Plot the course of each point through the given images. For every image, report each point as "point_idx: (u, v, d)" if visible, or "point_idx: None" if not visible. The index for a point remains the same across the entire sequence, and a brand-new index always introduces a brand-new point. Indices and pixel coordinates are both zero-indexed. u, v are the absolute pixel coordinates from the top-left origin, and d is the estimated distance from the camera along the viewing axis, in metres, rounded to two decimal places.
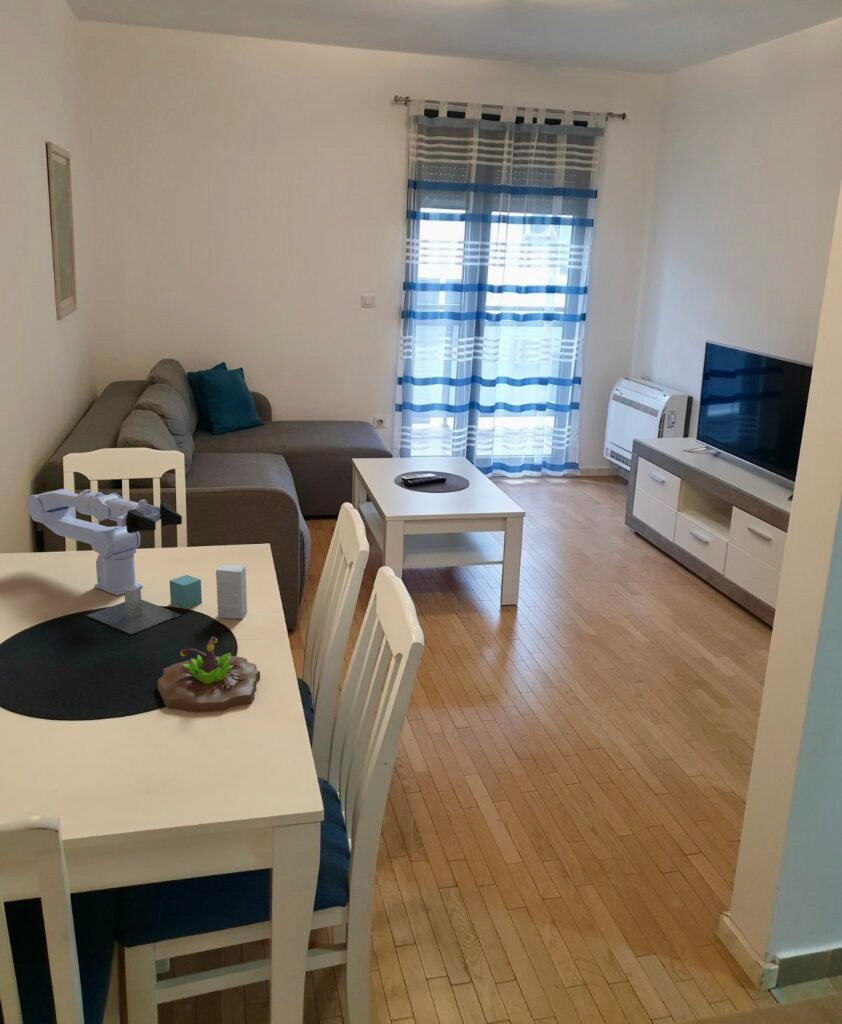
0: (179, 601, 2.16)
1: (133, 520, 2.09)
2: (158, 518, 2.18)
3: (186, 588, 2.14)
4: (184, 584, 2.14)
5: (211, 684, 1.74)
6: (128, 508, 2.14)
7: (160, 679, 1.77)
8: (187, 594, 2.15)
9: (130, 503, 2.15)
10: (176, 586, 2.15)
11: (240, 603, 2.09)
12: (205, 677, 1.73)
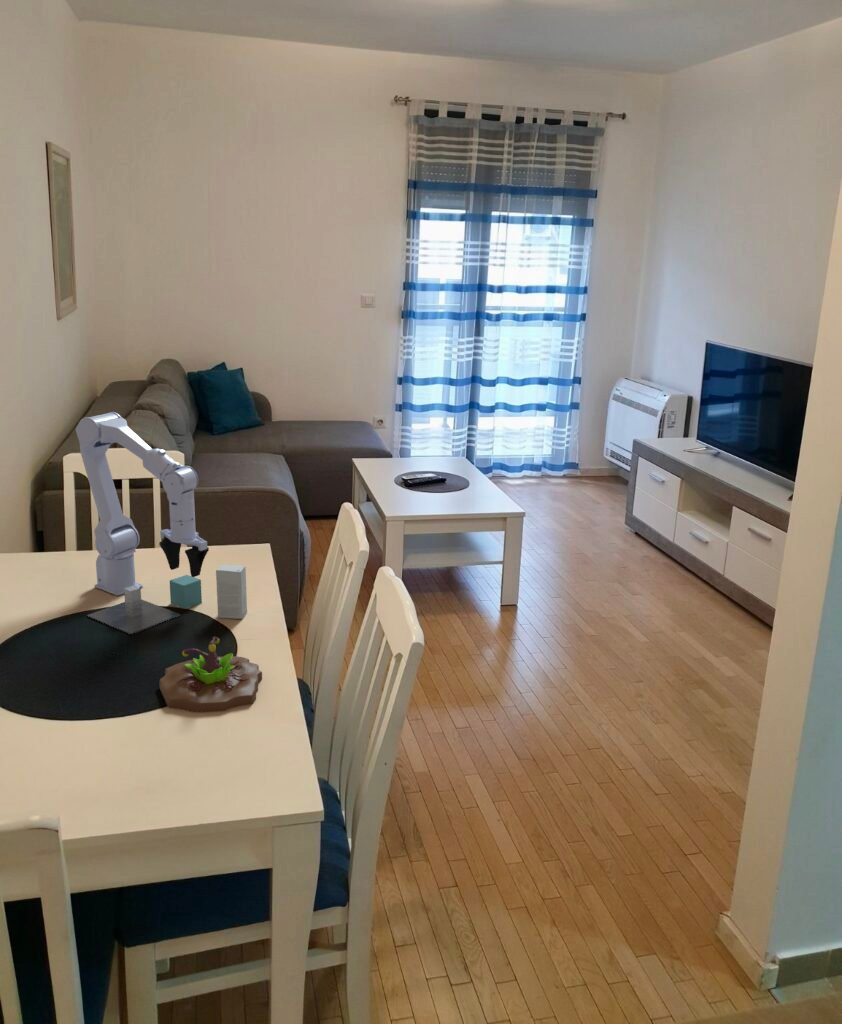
0: (179, 601, 2.16)
1: None
2: None
3: (186, 588, 2.14)
4: (184, 584, 2.14)
5: (213, 684, 1.74)
6: None
7: (162, 679, 1.77)
8: (187, 594, 2.15)
9: None
10: (176, 586, 2.15)
11: (240, 603, 2.09)
12: (207, 677, 1.73)
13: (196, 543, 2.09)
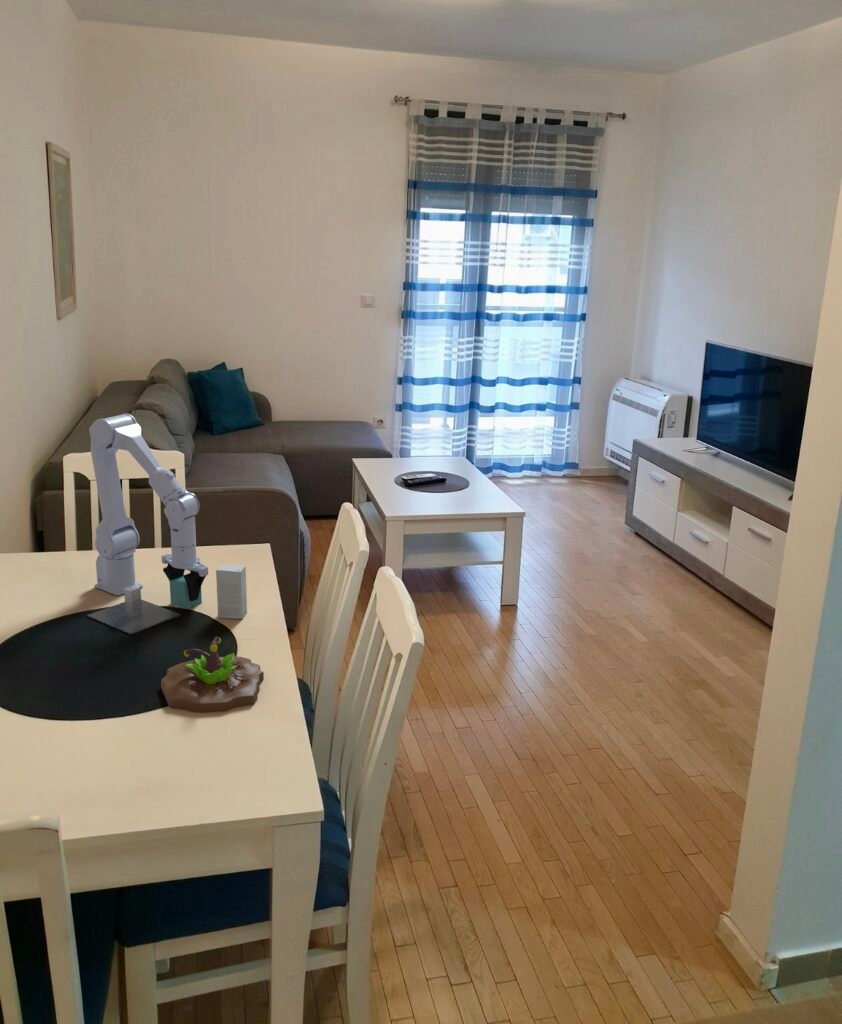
0: (179, 601, 2.16)
1: None
2: None
3: (186, 588, 2.14)
4: (184, 584, 2.14)
5: (214, 684, 1.74)
6: None
7: (164, 679, 1.77)
8: (187, 594, 2.15)
9: None
10: (176, 586, 2.15)
11: (240, 603, 2.09)
12: (208, 677, 1.73)
13: (197, 569, 2.11)
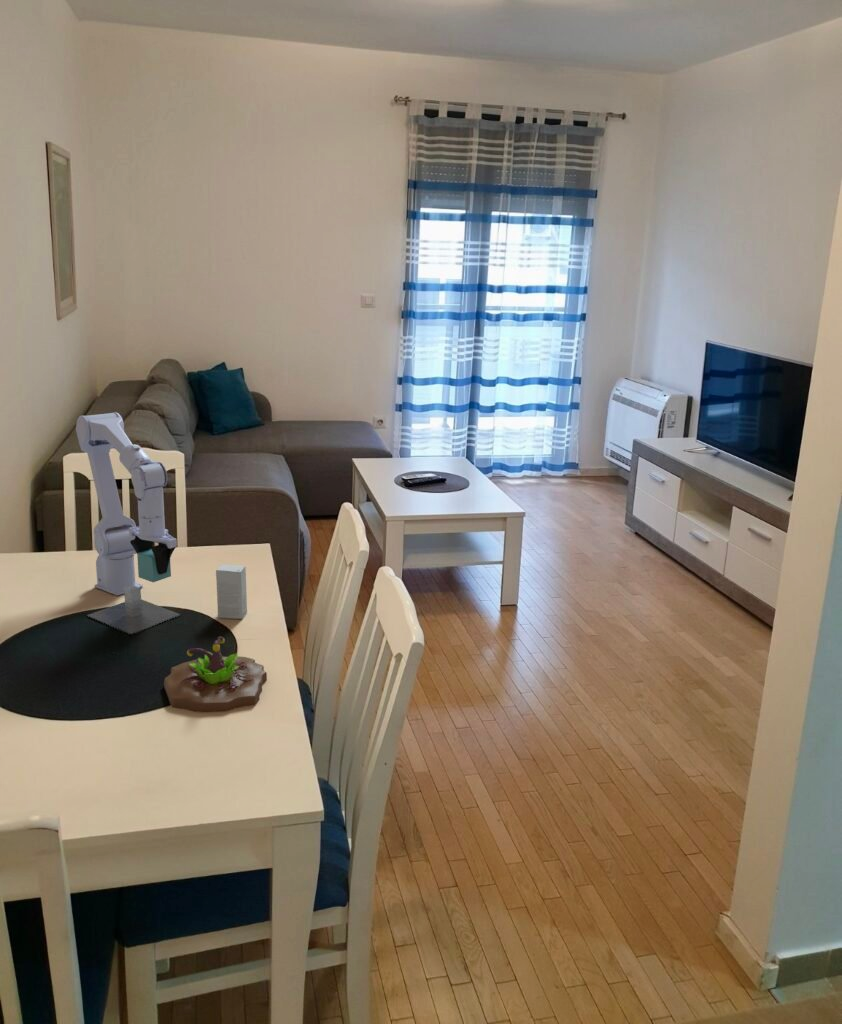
0: (147, 575, 2.08)
1: None
2: None
3: (154, 561, 2.07)
4: (152, 556, 2.07)
5: (216, 684, 1.74)
6: (164, 523, 2.08)
7: (167, 678, 1.77)
8: (155, 567, 2.07)
9: None
10: (144, 559, 2.08)
11: (240, 603, 2.09)
12: (210, 677, 1.74)
13: (165, 540, 2.04)
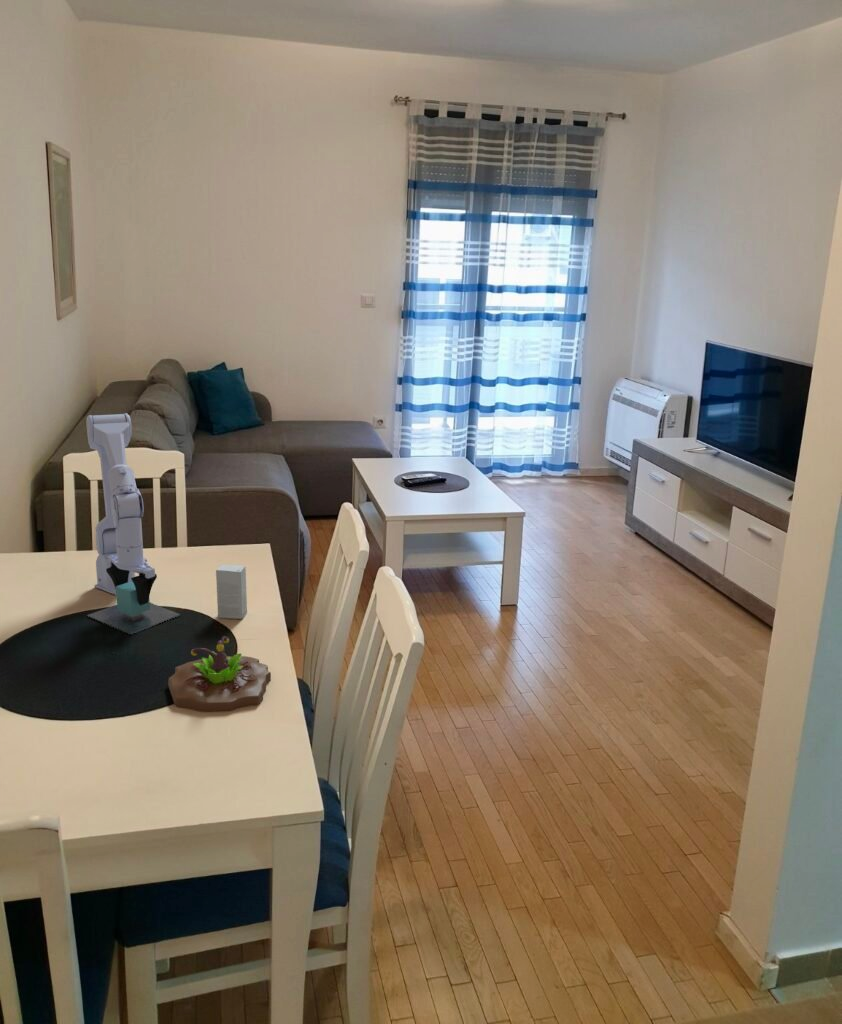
0: (125, 608, 2.07)
1: None
2: None
3: (132, 594, 2.05)
4: (130, 590, 2.05)
5: (220, 684, 1.74)
6: (142, 552, 2.06)
7: (171, 677, 1.77)
8: (134, 601, 2.06)
9: None
10: (122, 592, 2.06)
11: (240, 603, 2.09)
12: (214, 677, 1.74)
13: (143, 570, 2.02)
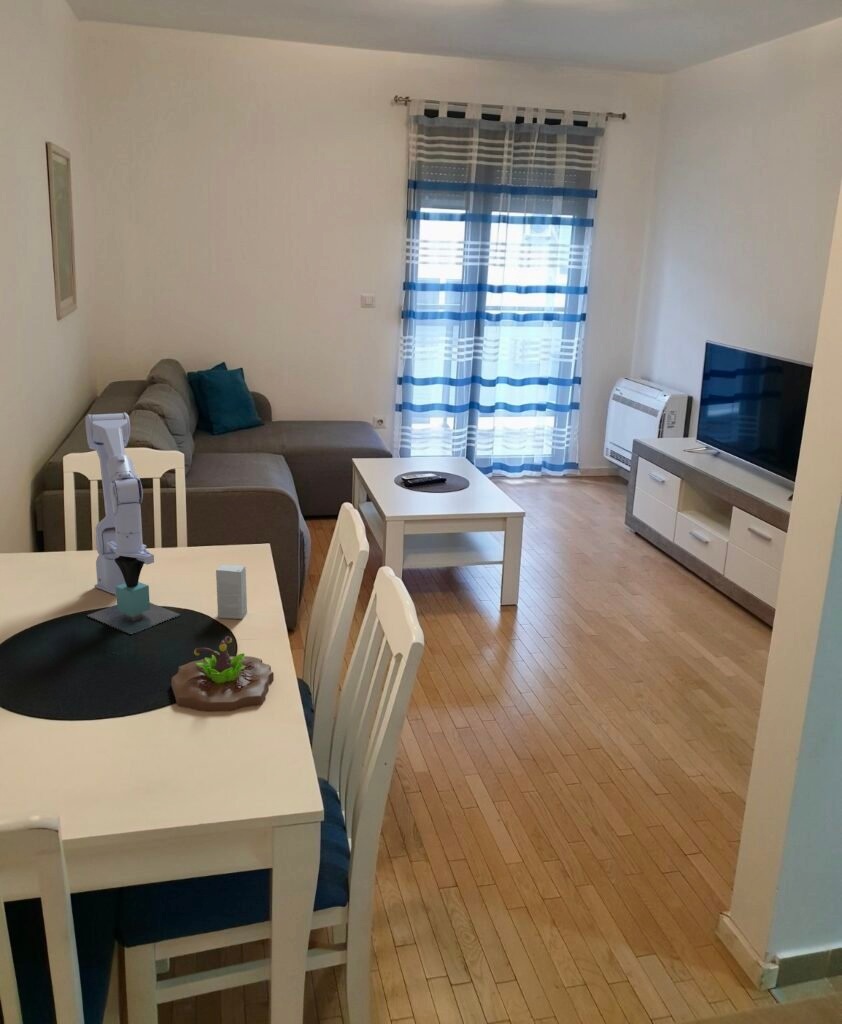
0: (125, 608, 2.07)
1: None
2: None
3: (132, 594, 2.05)
4: (130, 590, 2.05)
5: (223, 684, 1.75)
6: (141, 539, 2.05)
7: (174, 677, 1.78)
8: (134, 601, 2.06)
9: None
10: (122, 592, 2.06)
11: (240, 603, 2.09)
12: (217, 676, 1.74)
13: (142, 556, 2.01)
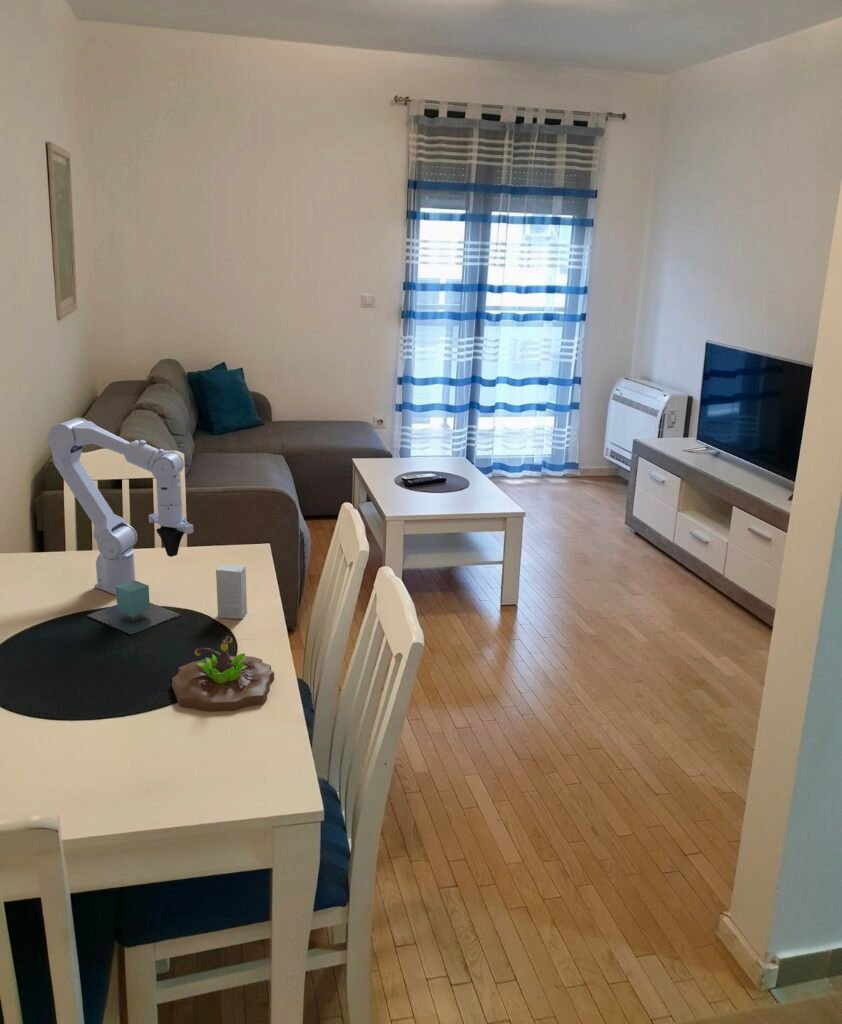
0: (125, 608, 2.07)
1: None
2: None
3: (132, 594, 2.05)
4: (130, 590, 2.05)
5: (224, 684, 1.75)
6: (181, 510, 2.19)
7: (175, 677, 1.77)
8: (134, 601, 2.06)
9: None
10: (122, 592, 2.06)
11: (240, 603, 2.09)
12: (218, 676, 1.74)
13: (182, 527, 2.15)
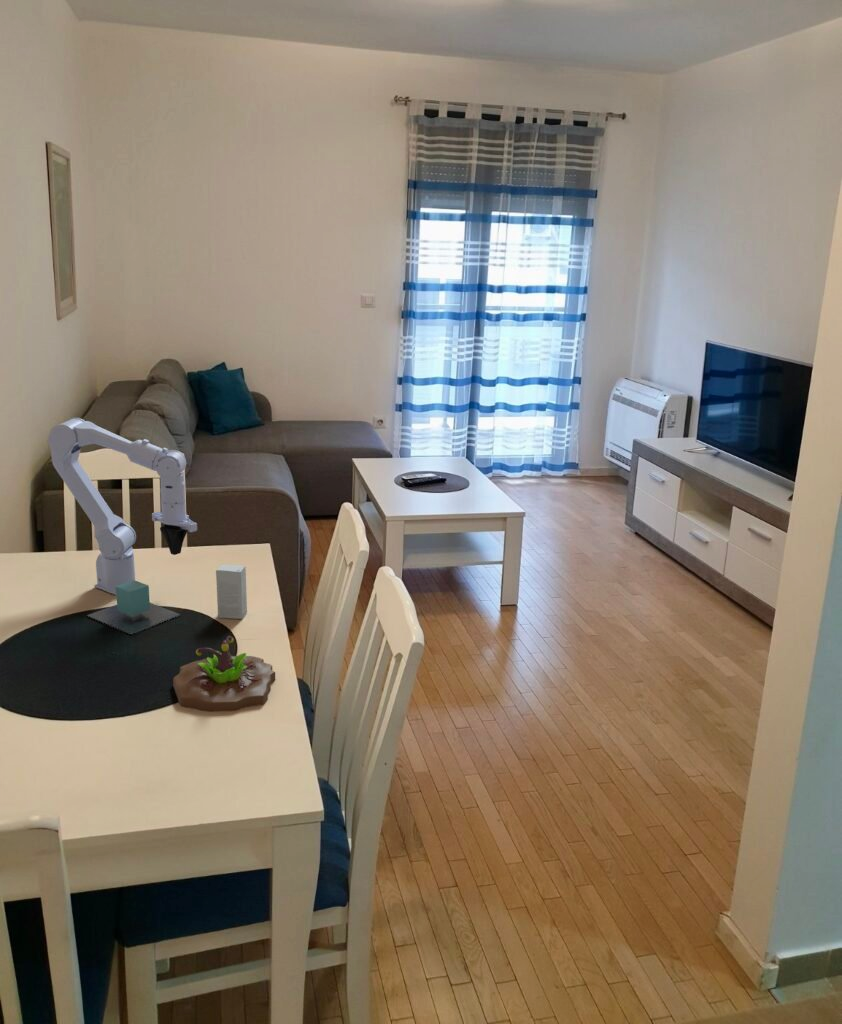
0: (125, 608, 2.07)
1: None
2: None
3: (132, 594, 2.05)
4: (130, 590, 2.05)
5: (225, 684, 1.75)
6: (185, 509, 2.20)
7: (176, 677, 1.78)
8: (134, 601, 2.06)
9: None
10: (122, 592, 2.06)
11: (240, 603, 2.09)
12: (219, 676, 1.74)
13: (186, 525, 2.16)
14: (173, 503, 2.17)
